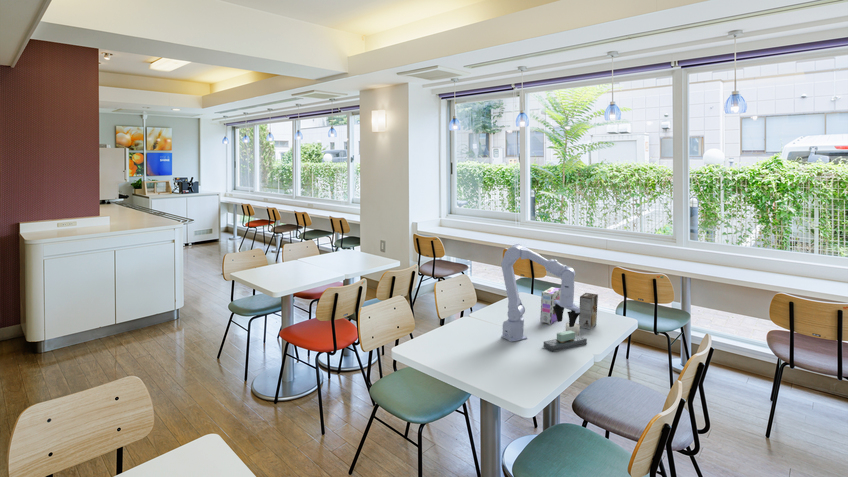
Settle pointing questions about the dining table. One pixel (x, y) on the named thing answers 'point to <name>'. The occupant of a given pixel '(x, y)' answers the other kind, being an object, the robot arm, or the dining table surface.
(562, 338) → the green toy bench
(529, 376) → the dining table surface
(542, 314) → the candy box
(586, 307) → the coffee box
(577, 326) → the white dome cap
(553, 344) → the rail
